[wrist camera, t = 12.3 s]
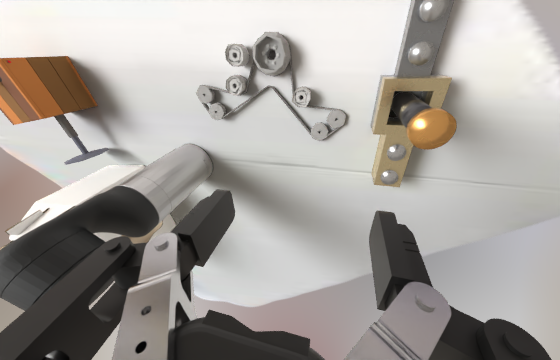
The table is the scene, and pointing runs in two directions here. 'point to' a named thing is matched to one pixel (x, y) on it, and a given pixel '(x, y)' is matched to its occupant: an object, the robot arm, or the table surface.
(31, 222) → the white open frame
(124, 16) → the table surface
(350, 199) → the table surface
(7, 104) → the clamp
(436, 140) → the pin
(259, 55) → the pulley system
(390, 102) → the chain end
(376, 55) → the table surface
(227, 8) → the table surface
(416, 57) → the chain end
